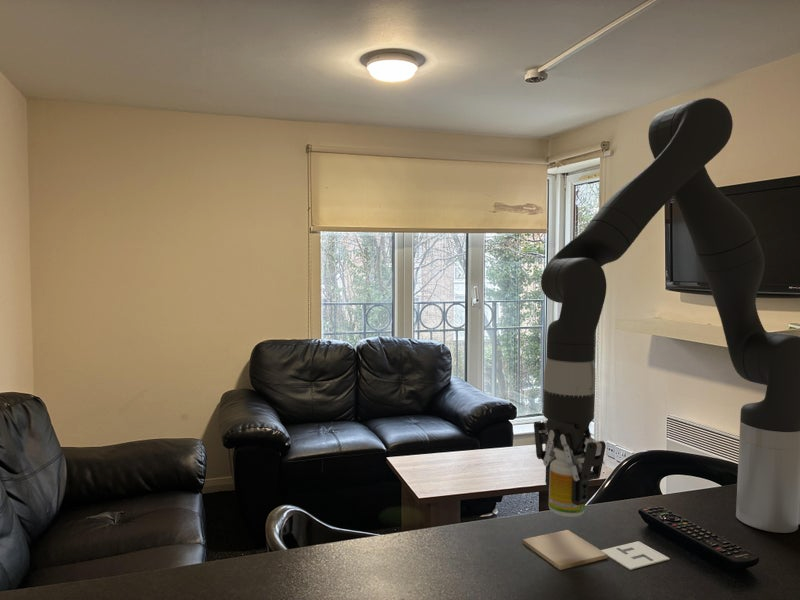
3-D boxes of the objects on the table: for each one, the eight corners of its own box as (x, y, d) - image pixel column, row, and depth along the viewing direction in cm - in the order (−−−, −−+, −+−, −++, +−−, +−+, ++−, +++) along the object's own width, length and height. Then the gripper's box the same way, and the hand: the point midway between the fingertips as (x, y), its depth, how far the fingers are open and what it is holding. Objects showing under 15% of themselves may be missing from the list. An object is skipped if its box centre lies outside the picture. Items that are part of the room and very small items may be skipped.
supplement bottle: (586, 519, 87) (588, 455, 86) (549, 515, 88) (551, 452, 87) (582, 505, 92) (584, 444, 91) (547, 501, 93) (549, 442, 92)
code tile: (638, 542, 93) (638, 541, 93) (669, 559, 88) (669, 558, 88) (600, 551, 90) (600, 550, 90) (630, 570, 84) (630, 568, 84)
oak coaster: (567, 533, 96) (567, 529, 96) (607, 558, 88) (607, 554, 88) (522, 543, 92) (522, 539, 92) (559, 570, 84) (560, 566, 84)
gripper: (623, 396, 84) (618, 510, 85) (557, 378, 97) (554, 477, 98) (582, 400, 81) (578, 518, 81) (520, 381, 94) (517, 484, 95)
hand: (565, 496), depth 90 cm, fingers closed on supplement bottle, 5 cm apart
